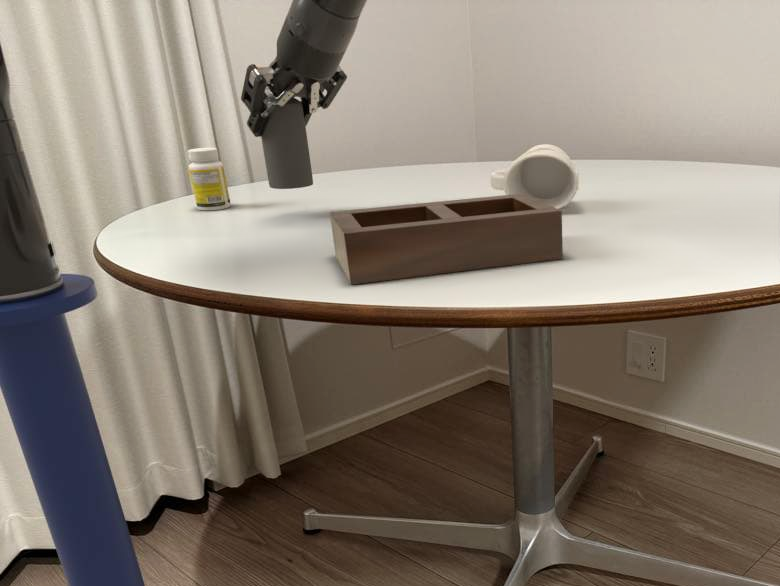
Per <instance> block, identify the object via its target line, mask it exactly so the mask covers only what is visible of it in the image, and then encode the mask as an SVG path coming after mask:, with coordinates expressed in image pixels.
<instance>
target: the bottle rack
mask: <svg viewBox="0 0 780 586" xmlns="http://www.w3.org/2000/svg"><path fill="white" fill-rule="evenodd" d="M329 218H330V226H331V234H332V240H333V248H334V254H335V258H336V261H337V262H338V264H339V266H340V268H341V269H342V271H343V273H344V275H345V277H346V278H347V280H348V282H349V284H350V285H351V286H353V285H361V284H369V283H378V282H386V281H394V280H402V279H409V278H411V279H412V278H418V277H425V276H433V275H435V276H436V275H443V274H450V273H459V272H466V271H474V270H481V269H482V270H484V269H492V268H499V267H507V266H508V267H509V266H515V265H522V264H530V263H532V264H533V263H540V262H547V261H556V260H563V259H564V254H563V253H564V252H563V248H564V247H563V211H562V210H560V209H556V208H555V207H552V206H550V205H548V204H546V203H544V202H541V201H539V200H537V199H535V198H533V197H530V196H528V195H526V194H513V195H506V194H504V195H503V194H502V195H493V196H482V197H472V198H461V199H450V200H442V201H441V200H440V201H439V200H438V201H431V202H429V201H428V202H420V203H419V202H418V203H409V204H399V205H397V204H396V205H388V206H378V207H376V206H375V207H367V208H357V209H345V210H337V211H336V210H334V211H329Z"/></svg>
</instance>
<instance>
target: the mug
mask: <svg viewBox="0 0 780 586" xmlns="http://www.w3.org/2000/svg"><path fill="white" fill-rule="evenodd" d="M579 174H580V173H579V168H577V169H576V167H575V165H574V163H573V162H572V159H570V157H569V155H568V154H567V153H566V152H565V151H564V150H563V149H562V148H560V147H558V146H556V145H553V144H549V143H548V144H546V143H543V144H538V145H535V146H532V147H531V148H530V149H528V150H527V151H525V152H524V153H523V154H521V155H520V156H519V157H517V158H516V159H515V160H514V161H512V162H511V164H510V165H509V166H508V168H507V169H499V170H495V171H492V172H491V173H490V175H489V177H490V178H489V179H490V187H491V189H494V190H498V191H504V195H513V194H526V195H528V196H530V197H533V198H535V199H537V200H539V201H541V202H544V203H546V204H548V205H550V206H552V207H555V208H556V209H559V210H560V209H562V208H564V207H565V206H567V205H568V204H569V203H570V202H571V201H572V200H573V199H574V198H575V196H576V195H577V191H579V186H580V185H579V178H580V177H579Z"/></svg>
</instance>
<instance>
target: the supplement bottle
mask: <svg viewBox="0 0 780 586" xmlns="http://www.w3.org/2000/svg"><path fill="white" fill-rule="evenodd" d="M218 151H219V150H218V149H217V147H199V148H191V149H188V150H187V155H188V160H189V161H190V162H191V163H189V165H188V173H189V176H190V180H191V185H192V191H193V194H194V199H195V204H196V208H197V209H198V210H199V211H218V210H219V211H220V210H225V209H228V208H229V207H231V205H232V203H231V198H230V193H229V188H228V183H227V179H226V173H225V168H224V164H223V162H221V161H220V160H219V158H220V157H219V152H218Z"/></svg>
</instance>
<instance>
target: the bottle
mask: <svg viewBox="0 0 780 586" xmlns="http://www.w3.org/2000/svg"><path fill="white" fill-rule="evenodd" d="M256 67H257V68H258V69H263V68H269V66H256ZM273 89H274V91H275V92H276V94H277V95H278V97H279V96H280V95H281V94H280V93H279V92H278V90H277V89H276V87H275V86H273ZM269 101H270V99H269V98H268V97H267V98H266V99H265V100H264V101H263V102H264V103H265V105H267V104H268V103H269ZM300 101H301V100H300V99H297V98H296V97H293V98H290V99H289V100H288V101H287V102H286V103H285V105H284V106H283V107H277V108H276V109H275V110H274V111H273V112H272V113H271V114H270V115H269V117H270V118H269V121H268V123H267V125H266V128H265V130H264V132H263V135H262V136H261V137H260V138H261V144H262V150H263V151H262V152H263V157H264V161H265V169H266V175H267V180H268V181H267V182H268V186H269V188H271V189H276V190H290V189H291V190H292V189H293V190H294V189H302V188H308V187H311V186H313V185H314V178H313V170H312V164H311V163H312V162H311V155H310V148H309V141H308V133H307V125H306V126H305V120H304V113H303V106H302V103H301V102H300Z"/></svg>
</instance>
